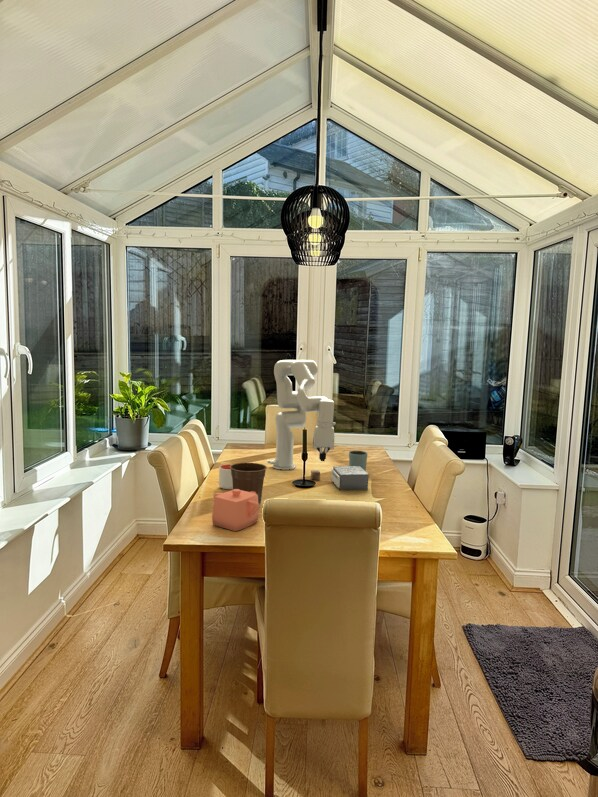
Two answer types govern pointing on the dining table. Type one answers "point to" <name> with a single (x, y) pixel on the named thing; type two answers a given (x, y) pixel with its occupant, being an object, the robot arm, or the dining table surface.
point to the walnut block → (315, 474)
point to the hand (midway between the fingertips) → (322, 460)
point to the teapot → (235, 509)
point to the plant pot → (248, 477)
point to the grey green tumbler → (358, 459)
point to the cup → (225, 477)
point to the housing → (352, 477)
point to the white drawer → (335, 478)
